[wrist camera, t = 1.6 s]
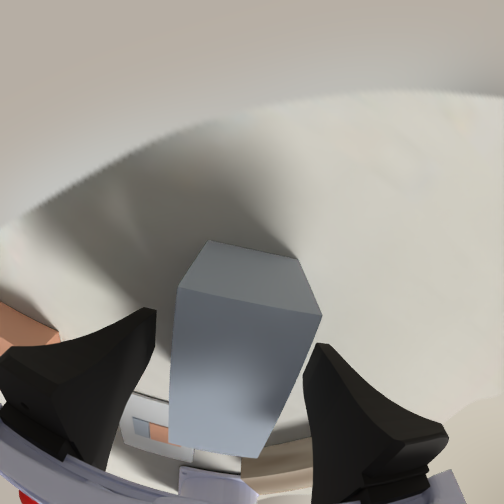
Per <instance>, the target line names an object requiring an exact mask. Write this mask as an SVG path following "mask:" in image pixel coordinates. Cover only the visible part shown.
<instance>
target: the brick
mask: <svg viewBox="0 0 504 504" xmlns="http://www.w3.org/2000/svg"><path fill="white" fill-rule="evenodd" d="M240 479H241V480H242V481H244V482H245V483H246V484H247V485H248V486H249V487H250V488H252V489H253V490H254V491H255V492H256V493H258V494H259V495H264V494H272V493H280V492H286V491H292V490H298V489H303V488H308V487H312V486H313V450H312V437H308V438H304V439H300V440H296V441H291V442H287V443H282V444H277V445H272V446H267V447H263V449H262V451H261V452H260V454H259V456H258V458H248V457H242V460H241V478H240Z"/></svg>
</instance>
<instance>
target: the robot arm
mask: <svg viewBox="0 0 504 504" xmlns="http://www.w3.org/2000/svg"><path fill="white" fill-rule="evenodd" d="M156 313H157V311H156V310H153V309H149V308H145V307H143V308H141V309H139V310H137V311H136V312H134V313H132V314H130V315H128V316H127V317H125V318H123V319H121V320H119V321H117V322H115V323H114V324H111V325H109V326H107V327H105V328H103V329H101V330H98V331H96V332H94V333H91V334H88V335H86V336H83V337H80V338H76V339H73V340H68V341H64V342H60V343H55V344H48V345H39V346H11V347H10V348H9V349H8V350H6V351H5V352H4V353H3V354H2V355H1V356H0V390H1V392H2V394H3V396H4V398H5V400H6V401H7V402H6V403H5V404H4V406H2V405H1V403H0V475H1V476H3V477H4V478H5V479H6V480H7V481H9V482H10V483H11V484H13V485H14V486H15V487H17V488H18V489H19V490H20V491H22V492H23V493H24V494H26V495H27V496H29V497H30V498H31V499H33V500H34V501H36V502H37V503H39V504H257V497H258V496H259V494H258V493H256V492H255V491H254V490H253V489H252V488H250V487H249V486H248V485H247V484H246V483H245V482H244V481H242V480H241V479H240V478H241V476H240V475H232V474H224V473H218V472H212V471H206V470H201V469H196V468H191V467H186V466H181V467H180V469H179V490H178V495H176V494H172V493H168V492H164V491H160V490H157V489H153V488H150V487H146V486H143V485H140V484H137V483H134V482H131V481H128V480H125V479H123V478H120V477H117V476H115V475H112V474H110V473H107V472H105V471H106V466H107V462H108V458H109V454H110V451H111V447H112V444H113V441H114V437H115V434H116V431H117V428H118V425H119V422H120V420H121V417H122V414H123V412H124V409H125V406H126V404H127V402H128V400H129V398H130V396H131V394H132V392H133V391H134V389H135V387H136V385H137V383H138V382H139V380H140V378H141V376H142V374H143V373H144V371H145V369H146V367H147V365H148V363H149V361H150V358H151V356H152V353H153V351H154V348H155V334H156ZM303 394H304V399H305V405H306V410H307V415H308V420H309V425H310V430H311V437H312V450H313V486H312V499H311V504H466V502H465V499H464V497H463V494H462V492H461V490H460V488H459V485H458V483H457V481H456V479H455V477H454V474H453V472H452V470H451V469H449V470H446V471H444V472H441V473H438V474H436V475H433V476H432V477H430V478H428V479H427V477H426V473H428V472H429V468H428V466H427V464H428V463H429V462H431V461H432V460H433V459H434V458H435V457H436V456H437V455H438V454H439V453H440V452H441V451H442V450H443V449H444V448H445V446H446V445H447V443H448V440H449V437H448V435H447V433H446V431H445V429H444V427H443V425H442V424H441V423H438V422H435V421H432V420H429V419H426V418H423V417H421V416H419V415H417V414H414V413H412V412H410V411H408V410H406V409H404V408H403V407H401V406H399V405H397V404H396V403H394V402H392V401H391V400H389V399H388V398H386V397H385V396H384V395H382V394H381V393H380V392H378V391H377V390H376V389H374V388H373V387H372V386H371V385H370V384H369V383H367V382H366V381H365V380H364V379H363V378H362V377H361V376H360V375H359V374H358V373H357V372H356V371H355V370H354V369H353V368H352V367H351V366H350V365H349V364H348V363H347V362H346V361H345V360H344V359H343V358H342V357H341V356H340V355H339V354H338V352H337V351H336V350H335V349H334V348H333V347H332V346H330V345H329V344H324V343H316V345H315V348H314V350H313V352H312V355H311V357H310V359H309V362H308V364H307V366H306V369H305V371H304V373H303Z"/></svg>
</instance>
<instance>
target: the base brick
mask: <svg viewBox="0 0 504 504" xmlns="http://www.w3.org/2000/svg"><path fill="white" fill-rule="evenodd" d="M55 343H60V337H59V332H58V331H56V330H54V329H52V328H49V327H47V326H45V325H43V324H41V323H39V322H37V321H35V320H33V319H31V318H29V317H27V316H25V315H24V314H22V313H20V312H18V311H16V310H14V309H13V308H11V307H9V306H7V305H6V304H4V303H2V302H1V301H0V356H1V355H2V354H3V353H4V352H5V351H6V350H8V349H9V348H10V347H11V346H39V345H48V344H55Z"/></svg>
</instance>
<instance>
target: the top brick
mask: <svg viewBox="0 0 504 504" xmlns="http://www.w3.org/2000/svg"><path fill="white" fill-rule="evenodd" d="M322 316H323V315H322V313H321V311H320V308H319V306H318V304H317V301H316V299H315V297H314V294H313V292H312V290H311V287H310V285H309V283H308V280H307V278H306V276H305V274H304V271H303V269H302V267H301V264H300V262H299V260H298V259H294V258H289V257H285V256H280V255H275V254H271V253H266V252H262V251H257V250H252V249H248V248H243V247H238V246H234V245H229V244H224V243H219V242H215V241H210V240H208V241H207V242H206V244H205V245H204V247H203V248H202V250H201V251H200V253H199V254H198V256H197V257H196V259H195V260H194V262H193V263H192V265H191V266H190V268H189V270H188V271H187V273H186V274H185V276H184V277H183V279H182V280H181V282H180V284H179V285H178V287H177V296H176V305H175V315H174V326H173V338H172V351H171V367H170V387H169V422H168V443H172V444H176V445H180V446H184V447H188V448H193V449H198V450H203V451H208V452H213V453H219V454H225V455H232V456H240V457H248V458H258V456H259V454H260V452H261V451H262V449H263V447H264V445H265V443H266V441H267V439H268V438H269V436H270V434H271V432H272V430H273V428H274V426H275V424H276V422H277V420H278V418H279V416H280V414H281V412H282V410H283V408H284V406H285V403H286V401H287V399H288V397H289V395H290V393H291V391H292V388H293V386H294V384H295V382H296V379H297V377H298V375H299V373H300V370H301V368H302V366H303V363H304V361H305V359H306V356H307V354H308V351H309V349H310V347H311V344H312V342H313V339H314V337H315V334H316V331H317V329H318V326H319V324H320V321H321V318H322Z"/></svg>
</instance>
